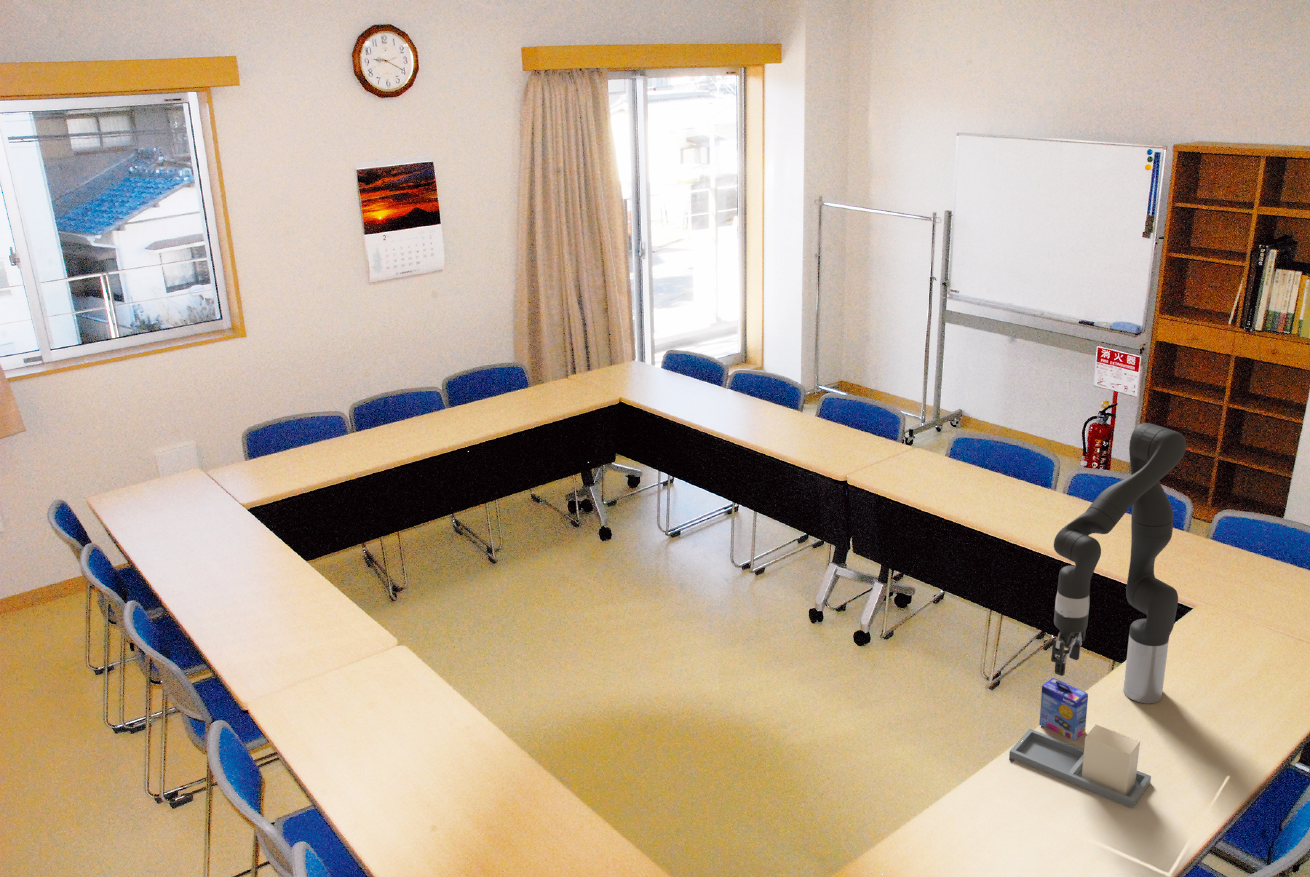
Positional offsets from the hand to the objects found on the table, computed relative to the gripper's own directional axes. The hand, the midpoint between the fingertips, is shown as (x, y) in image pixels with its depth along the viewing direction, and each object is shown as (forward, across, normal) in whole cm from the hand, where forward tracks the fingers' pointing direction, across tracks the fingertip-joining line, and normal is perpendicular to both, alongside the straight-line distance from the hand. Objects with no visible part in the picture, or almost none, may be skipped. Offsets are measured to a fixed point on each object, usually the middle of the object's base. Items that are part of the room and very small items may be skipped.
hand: (1066, 666), depth 255 cm
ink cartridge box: (+19, 0, 0) cm, 19 cm away
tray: (+19, +13, +10) cm, 25 cm away
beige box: (+18, +13, +16) cm, 28 cm away
